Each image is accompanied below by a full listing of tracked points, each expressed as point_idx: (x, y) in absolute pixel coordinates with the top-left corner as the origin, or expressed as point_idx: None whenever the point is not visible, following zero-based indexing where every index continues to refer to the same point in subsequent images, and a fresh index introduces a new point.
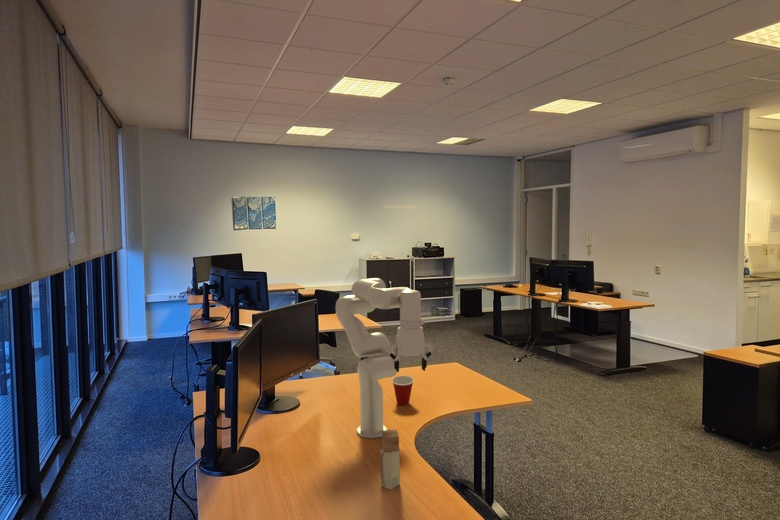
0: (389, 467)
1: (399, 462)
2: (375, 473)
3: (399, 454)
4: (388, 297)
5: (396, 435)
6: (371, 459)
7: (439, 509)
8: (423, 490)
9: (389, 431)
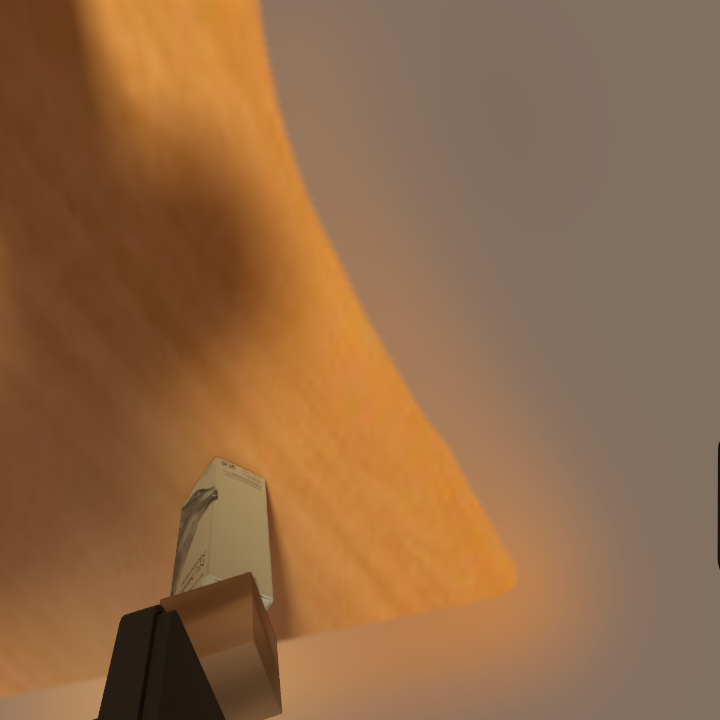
0: None
1: (269, 545)
2: (129, 412)
3: (271, 574)
4: None
5: (264, 708)
6: (65, 276)
7: (425, 594)
8: (368, 501)
9: (207, 673)
